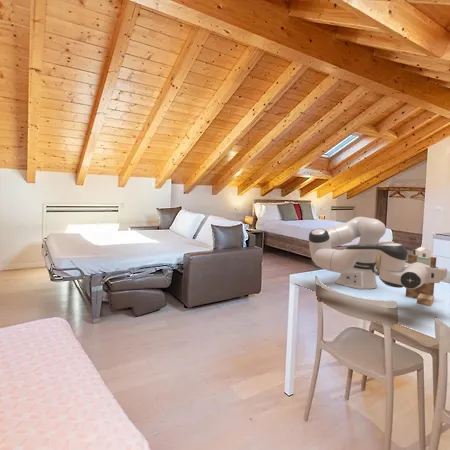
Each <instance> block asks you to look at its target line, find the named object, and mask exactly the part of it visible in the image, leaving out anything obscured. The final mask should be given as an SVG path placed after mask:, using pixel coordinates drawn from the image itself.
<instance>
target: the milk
mask: <svg viewBox="0 0 450 450" xmlns="http://www.w3.org/2000/svg"><path fill="white" fill-rule="evenodd" d="M415 249H416V252H415V255H421V256H422V255H423V253H426V256H429V257H432V256H431V255H432V253H431V250H429V249H427V246H426V245H424V244H423V243H421V244H420V247H418V248H415Z"/></svg>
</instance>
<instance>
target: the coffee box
mask: <svg viewBox="0 0 450 450" xmlns="http://www.w3.org/2000/svg"><path fill="white" fill-rule="evenodd" d="M416 249H417V248H413V247H410V248H406V250H407V252H408V253H407V258H406V261H405V263H408V256H409V254H413V255H415V252H416Z"/></svg>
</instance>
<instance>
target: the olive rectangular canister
mask: <svg viewBox="0 0 450 450" xmlns="http://www.w3.org/2000/svg"><path fill="white" fill-rule="evenodd" d="M431 257H432V256H431ZM431 257H429V256H426V253H423V255H422V256H421V255H419V256H418V257H417V262H420V263H423V264H426V265H429V266H430V264H431ZM425 284H428V283H425Z"/></svg>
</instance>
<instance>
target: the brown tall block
mask: <svg viewBox="0 0 450 450" xmlns="http://www.w3.org/2000/svg"><path fill="white" fill-rule="evenodd" d="M418 256H419V255H413V254H409V256H408V263H409V264H412V263H415V262H417V257H418ZM430 266H433V267H437V257H436V256H431V264H430ZM434 292H435V283H428V284H425V283H424V284H423V285H422V286H420V287H418V288H415V289H408V288H405V297H408V298H411V299H416V304H418V305H422V306H423V305H424V306H427V307H428V306H429V307H432V305H433V303H434V302H435V301H434V300H435V295H434Z"/></svg>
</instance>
